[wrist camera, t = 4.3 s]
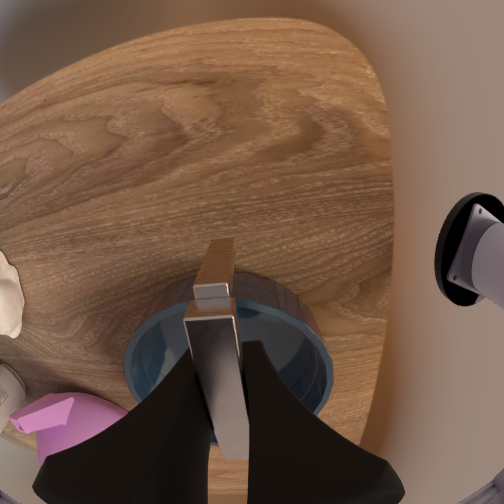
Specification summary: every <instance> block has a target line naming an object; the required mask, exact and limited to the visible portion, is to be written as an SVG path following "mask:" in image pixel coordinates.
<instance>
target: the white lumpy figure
mask: <svg viewBox="0 0 504 504" xmlns="http://www.w3.org/2000/svg"><path fill="white" fill-rule="evenodd" d="M24 303H25V301H24V297H23V293H22V290H21V286H20V281H19V277H18V273H17V270H16V269H15V267H14V266H12V265H9V264H8V262H7V260H6V258H5V256H4V254H3V253H2V252H1V251H0V334H2V335H7V336H9V337H10V338H16V337H17V336H18V335H19V334H20V332H21V328H22V312H23V308H24Z"/></svg>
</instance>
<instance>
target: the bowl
mask: <svg viewBox="0 0 504 504" xmlns="http://www.w3.org/2000/svg"><path fill="white" fill-rule="evenodd" d="M196 277H197V276H192V277H189V278H187V279H185V280H183V281H181V282H179V283H177V284H175V285H173V286H171V287H169V288H168V289H167V290H166V291H165V292H164V293H162V294H161V295H160V296H159V297H158V298H157V299H156V300H155V301H154V302H153V303H152V305H151V306H150V308H149V309H148V311H147V312H146V314H145V316H144V317H143V319H142V320H141V322H140V324H139V325H138V327H137V328H136V330H135V332H134V334H133V336H132V338H131V340H130V342H129V344H128V346H127V348H126V350H125V360H124V372H125V376H126V380H127V384H128V387H129V390H130V391H131V393H132V395H133V396H134V398H135V399H136V401H137V403H138V404H139V403H140V402H141V401H143V400H144V399H145V398H146V397H147V396H148V395H149V394H150V393H151V391H152V390H153V389H154V388H155V387H156V386H157V385H158V384H159V383H160V382H161V381H162V380H163V378H164V377H165V376H166V375H167V374H168V372H169V371H170V370H171V369H172V368H173V366H174V365H175V364H176V363H177V361H178V360H179V359H180V358H181V356H182V355H183V354H184V352H185V351H186V350H187V349H188V347H189V343H188V339H187V335H186V331H185V327H184V323H183V318H184V315H185V312H186V310H187V307H188V304H189V301H191V300H195V297H194V291H193V285H194V282H195V279H196ZM232 297H234V298H235V299H236V307H237V315H238V322H239V330H240V337H241V344H242V342H243V341H254V340H260V341H262V342H263V345H264V348H265V350H266V352H267V355H268V357H269V358H270V360H271V362H272V364H273V365H274V367H275V368H276V370H277V371H278V373H279V374H280V376H281V377H282V379H283V380H284V381H285V383H286V384H287V385H288V387H289V388H290V389H291V390H292V392H293V393H294V394H295V395H296V396H297V397H298V398H299V400H300V401H301V402H302V403H303V404H304V405H305V406H306V407H307V408H308V409H309V410H310V411H311V412H312V413H314V414H315V415H316V416H317V415H318V414H319V412H320V411H321V410H322V408H323V407H324V405H325V404H326V403H327V401H328V399H329V396H330V393H331V390H332V387H333V384H334V373H333V361H332V359H331V356H330V354H329V351H328V349H327V346H326V344H325V341H324V339H323V336H322V334H321V332H320V329H319V327H318V325H317V323H316V320H315V318H314V316H313V314H312V312H311V311H310V309H309V308H308V307H307V306H306V305H305V304H304V303H303V302H302V301H301V300H300V299H299V298H298V296H297V295H295V294H294V293H292V292H291V291H289V290H287V289H286V288H284V287H282V286H281V285H279V284H277V283H276V282H274V281H272V280H268V279H265V278H262V277H258V276H255V275H252V274H248V273H247V274H246V273H240V272H234V276H233V289H232ZM210 445H213V446H219V444H218V442H217V439H216V436H215V433H214V430H213V431H212V438H211V444H210Z"/></svg>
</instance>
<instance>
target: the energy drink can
mask: <svg viewBox="0 0 504 504" xmlns="http://www.w3.org/2000/svg"><path fill="white" fill-rule="evenodd" d="M25 391H26V387H25V385H24V382H23V381H22V379H21V378H20V376H19V375H18V374H17V373H16V372H15V371H14V370H13V369H12V368H11V367H10V366H9V365H7V364H4V363H2V364H1V365H0V433H1V432H2V430H3V429H4V427H5V426H6V424H7V423H8V421H9V420H10V418H9V416H10V415H11V414H13V413H15V412H16V410H17V409H18V407H19V406H20V405H21V403H22V402H23V401H24V399H25V397H26V395H25Z"/></svg>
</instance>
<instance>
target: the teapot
mask: <svg viewBox="0 0 504 504" xmlns="http://www.w3.org/2000/svg"><path fill="white" fill-rule="evenodd" d="M128 413H129V412H127V411H126V410H124V409H122V408H121V407H119V406H117V405H115V404H114V403H112V402H109V401H107V400H105V399H103V398H100V397H97V396H94V395H91V394H87V393H80V392H67V393H59V394H53V393H50V394H48V395H46V396H44V397H42V398H41V399H39V400H37V401H35V402H33V403H31V404H30V405H28V406H26V407H24V408H22V409H20V410H18V411H17V412H15V413H13V414H11V415H10V416H9V418H10V420H11V421H12V422H13V424H14V425H15V426H16V428H17V429H18V430H19V431H20V432H23V433H25V434H28V433H29V432H33V431H36V441H37V450H38V457H39V461H40V465H41V466H42V464H43V462H44V460H45V458H46V456H48V455H51V454H54V453H57V452H60V451H62V450H65V449H68V448H70V447H73V446H75V445H77V444H79V443H81V442H83V441H85V440H87V439H89V438H91V437H93V436H95V435H96V434H98V433H100V432H102V431H103V430H105V429H106V428H108V427H109V426H111V425H112V424H114V423H115V422H116V421H118V420H119V419H121V418H122V417H124V416H125V415H126V414H128Z"/></svg>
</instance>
